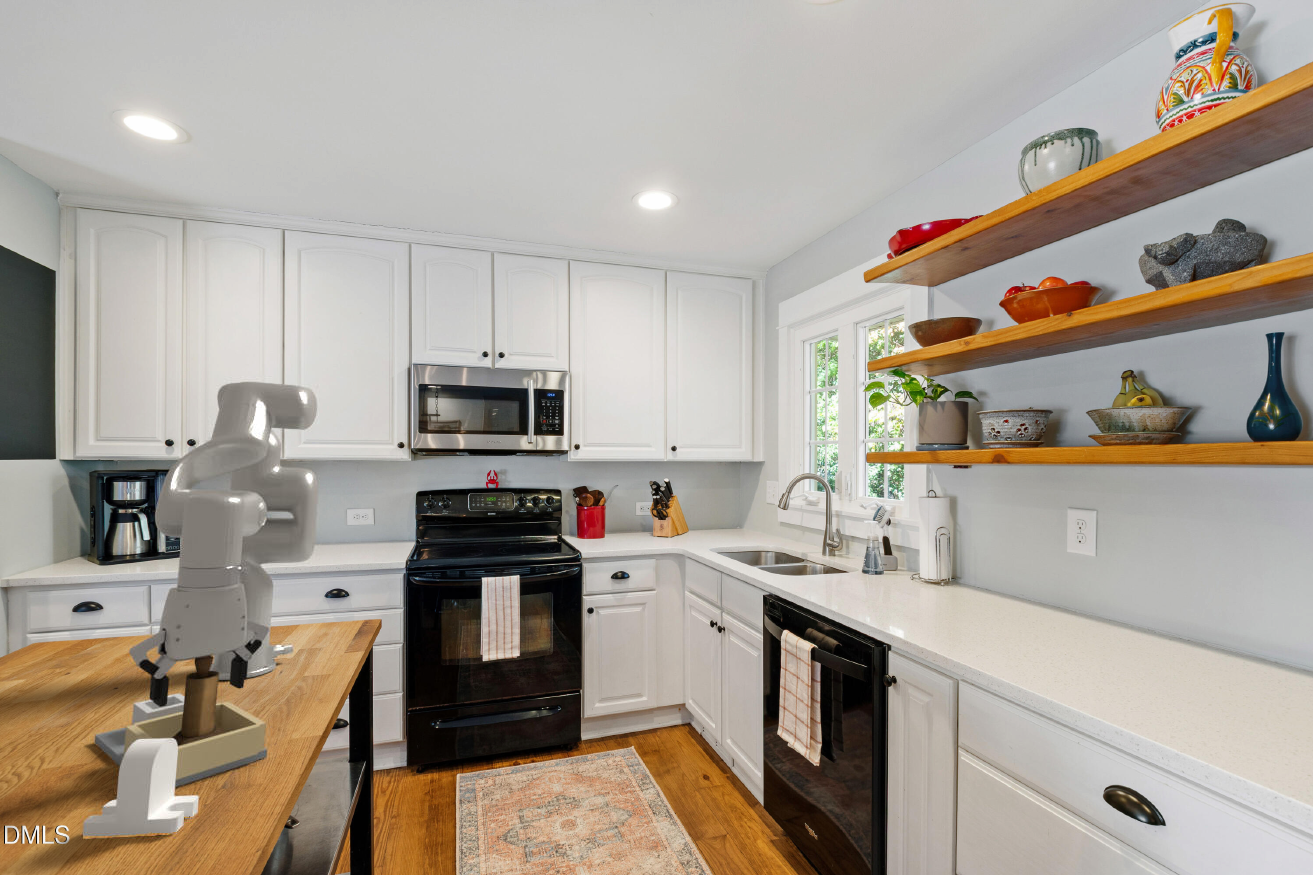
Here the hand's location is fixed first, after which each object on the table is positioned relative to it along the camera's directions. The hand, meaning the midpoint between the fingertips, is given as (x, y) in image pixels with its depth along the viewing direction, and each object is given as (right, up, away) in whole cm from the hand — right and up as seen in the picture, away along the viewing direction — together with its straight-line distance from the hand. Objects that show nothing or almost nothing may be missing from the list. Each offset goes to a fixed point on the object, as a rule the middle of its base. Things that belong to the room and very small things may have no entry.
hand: (199, 694), depth 92 cm
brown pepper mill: (0, -9, 0) cm, 9 cm away
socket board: (-5, -9, +3) cm, 11 cm away
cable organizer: (+5, -9, -16) cm, 19 cm away
